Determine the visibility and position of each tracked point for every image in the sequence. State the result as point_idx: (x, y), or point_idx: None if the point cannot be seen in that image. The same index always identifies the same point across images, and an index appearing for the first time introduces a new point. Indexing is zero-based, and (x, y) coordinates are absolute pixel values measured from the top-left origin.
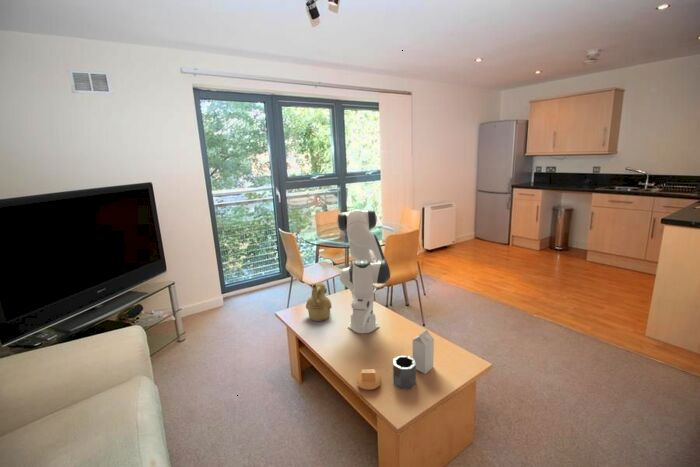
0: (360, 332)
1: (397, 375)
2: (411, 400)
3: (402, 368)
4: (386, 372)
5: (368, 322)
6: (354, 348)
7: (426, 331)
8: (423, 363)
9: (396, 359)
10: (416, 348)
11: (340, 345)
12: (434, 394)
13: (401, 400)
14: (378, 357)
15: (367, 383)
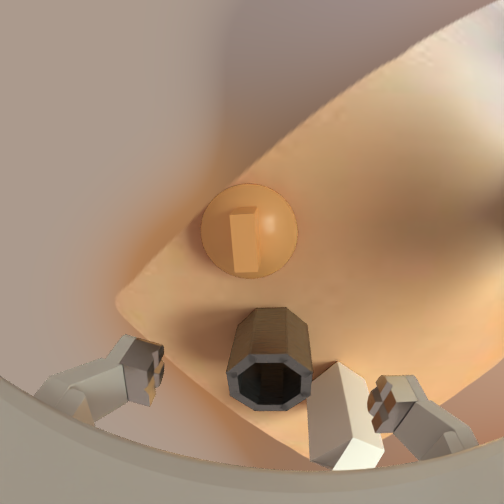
0: (125, 338)
1: (241, 342)
2: (197, 344)
3: (230, 377)
4: (319, 287)
5: (369, 402)
6: (457, 167)
7: None
8: (311, 405)
9: (286, 364)
10: (335, 424)
11: (470, 115)
12: (227, 391)
13: (192, 322)
14: (404, 259)
15: (222, 230)
